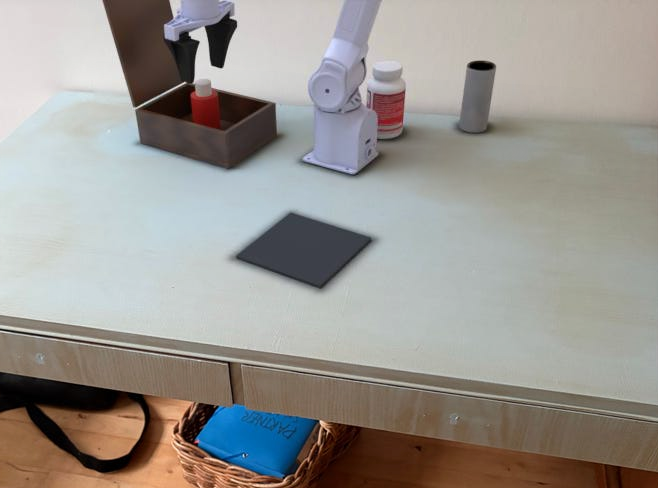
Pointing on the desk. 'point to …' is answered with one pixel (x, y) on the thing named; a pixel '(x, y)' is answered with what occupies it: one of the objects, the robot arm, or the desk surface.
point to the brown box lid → (143, 46)
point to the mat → (304, 249)
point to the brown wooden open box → (205, 142)
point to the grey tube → (477, 96)
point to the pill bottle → (387, 98)
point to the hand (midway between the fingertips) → (202, 74)
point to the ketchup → (205, 104)
